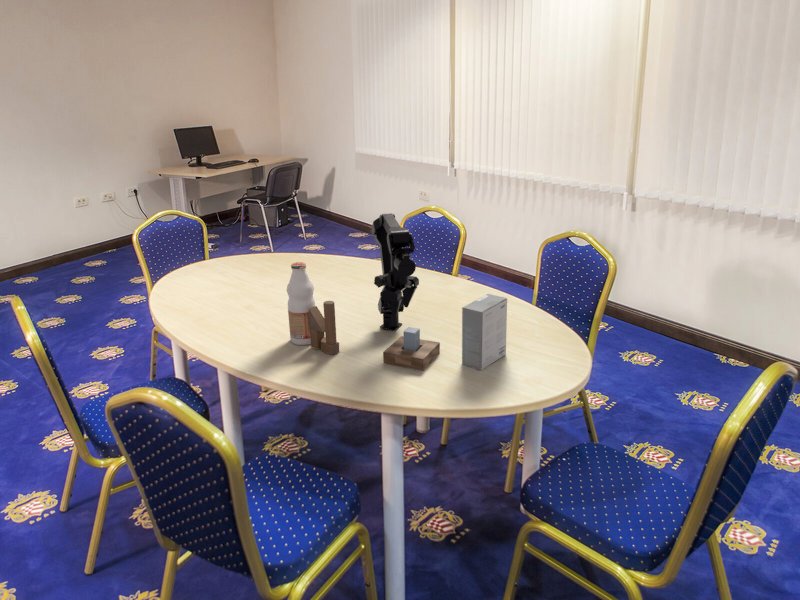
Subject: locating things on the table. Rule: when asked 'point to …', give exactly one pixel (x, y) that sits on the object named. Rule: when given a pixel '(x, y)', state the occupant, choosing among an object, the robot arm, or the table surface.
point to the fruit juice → (300, 304)
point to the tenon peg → (411, 339)
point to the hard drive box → (484, 331)
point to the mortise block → (411, 354)
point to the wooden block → (323, 328)
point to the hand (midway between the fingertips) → (400, 311)
